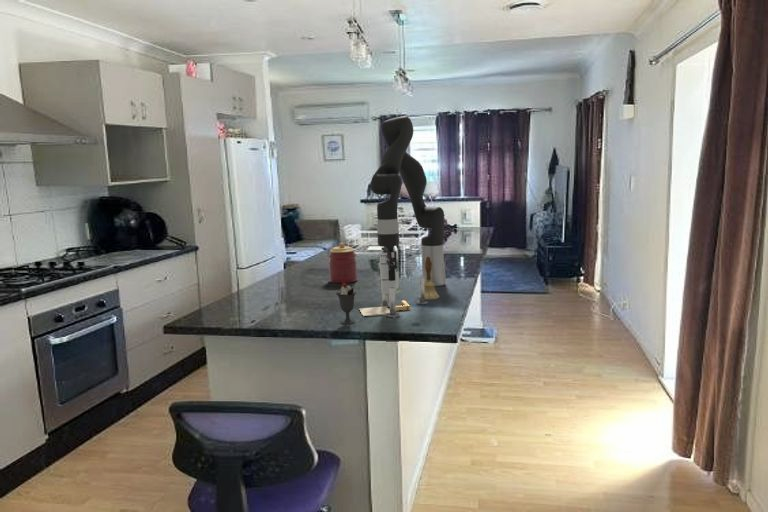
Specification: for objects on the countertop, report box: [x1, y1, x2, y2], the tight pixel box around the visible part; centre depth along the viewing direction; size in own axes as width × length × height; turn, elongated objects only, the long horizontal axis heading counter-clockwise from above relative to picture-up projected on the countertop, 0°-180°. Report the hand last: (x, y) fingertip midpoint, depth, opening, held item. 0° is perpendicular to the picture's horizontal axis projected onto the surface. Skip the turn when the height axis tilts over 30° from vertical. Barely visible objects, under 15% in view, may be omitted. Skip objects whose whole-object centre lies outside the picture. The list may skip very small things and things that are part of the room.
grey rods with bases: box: [378, 276, 429, 318], centre depth 203 cm, size 18×18×10 cm
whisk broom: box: [417, 257, 440, 301], centre depth 220 cm, size 8×8×16 cm
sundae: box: [335, 278, 357, 325], centre depth 188 cm, size 7×7×15 cm
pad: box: [358, 306, 390, 317], centre depth 201 cm, size 10×10×1 cm
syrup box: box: [378, 250, 401, 295], centre depth 200 cm, size 6×6×14 cm
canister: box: [327, 242, 359, 284], centre depth 257 cm, size 13×13×18 cm
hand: (389, 278), depth 200 cm, fingers closed on syrup box, 7 cm apart
